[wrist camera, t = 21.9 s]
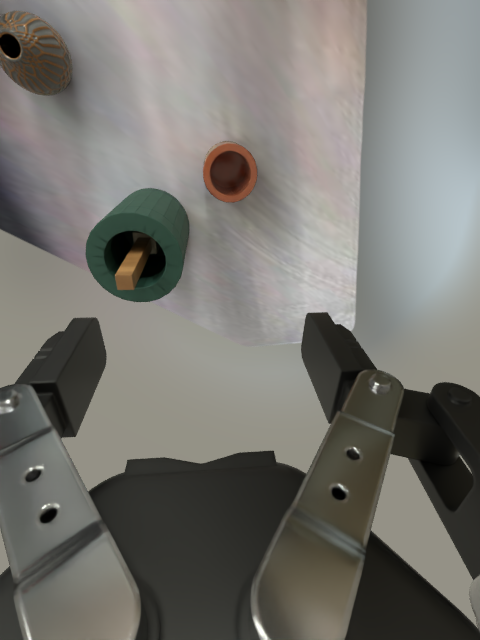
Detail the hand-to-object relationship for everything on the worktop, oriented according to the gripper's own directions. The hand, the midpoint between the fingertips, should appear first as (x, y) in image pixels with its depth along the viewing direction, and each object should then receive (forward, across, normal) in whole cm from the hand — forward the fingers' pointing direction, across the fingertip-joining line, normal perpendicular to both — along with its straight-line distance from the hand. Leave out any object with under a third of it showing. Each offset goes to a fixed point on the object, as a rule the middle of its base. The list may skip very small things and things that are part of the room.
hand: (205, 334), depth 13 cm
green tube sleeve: (+39, +8, +6) cm, 40 cm away
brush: (+38, +8, +6) cm, 40 cm away
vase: (+39, +18, -13) cm, 45 cm away
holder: (+39, -3, -2) cm, 39 cm away
